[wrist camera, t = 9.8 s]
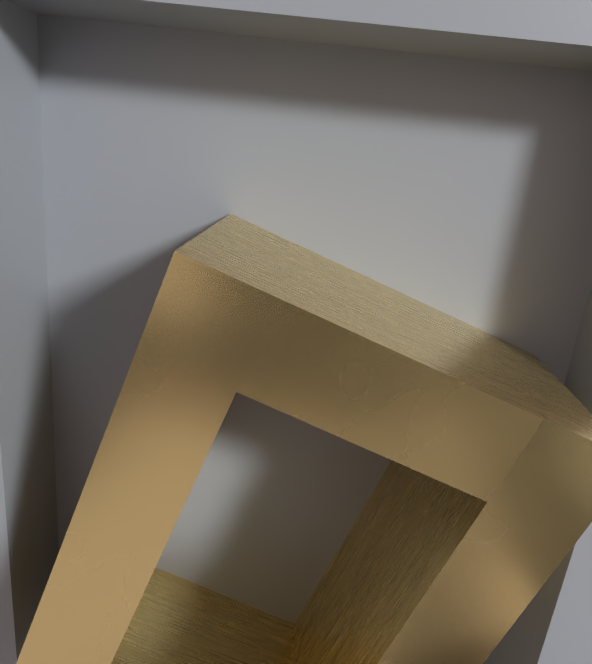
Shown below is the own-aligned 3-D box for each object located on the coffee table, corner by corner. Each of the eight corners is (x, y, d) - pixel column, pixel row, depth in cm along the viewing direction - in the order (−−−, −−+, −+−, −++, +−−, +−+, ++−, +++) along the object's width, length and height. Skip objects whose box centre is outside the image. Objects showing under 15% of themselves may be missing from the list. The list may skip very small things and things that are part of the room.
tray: (490, 771, 13) (518, 887, 11) (35, 709, 14) (-19, 811, 12) (721, 14, 8) (854, -32, 6) (-15, -60, 9) (-128, -126, 6)
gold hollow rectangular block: (230, 213, 9) (175, 250, 6) (534, 354, 10) (637, 461, 6) (51, 651, 12) (-48, 830, 9) (284, 741, 13) (268, 943, 10)
